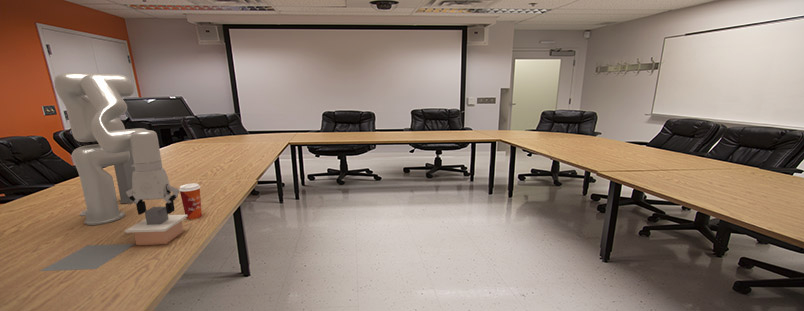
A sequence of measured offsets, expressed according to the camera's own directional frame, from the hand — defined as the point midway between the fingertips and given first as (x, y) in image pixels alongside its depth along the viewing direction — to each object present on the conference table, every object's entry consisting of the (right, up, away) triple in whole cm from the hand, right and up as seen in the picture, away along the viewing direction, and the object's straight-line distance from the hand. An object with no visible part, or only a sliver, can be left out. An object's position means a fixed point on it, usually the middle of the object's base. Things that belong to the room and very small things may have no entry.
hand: (156, 212), depth 115 cm
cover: (0, -4, +1) cm, 4 cm away
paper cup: (-1, -6, +23) cm, 23 cm away
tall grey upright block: (-44, -1, +46) cm, 63 cm away
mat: (-13, -13, -10) cm, 21 cm away
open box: (0, -10, +2) cm, 10 cm away
